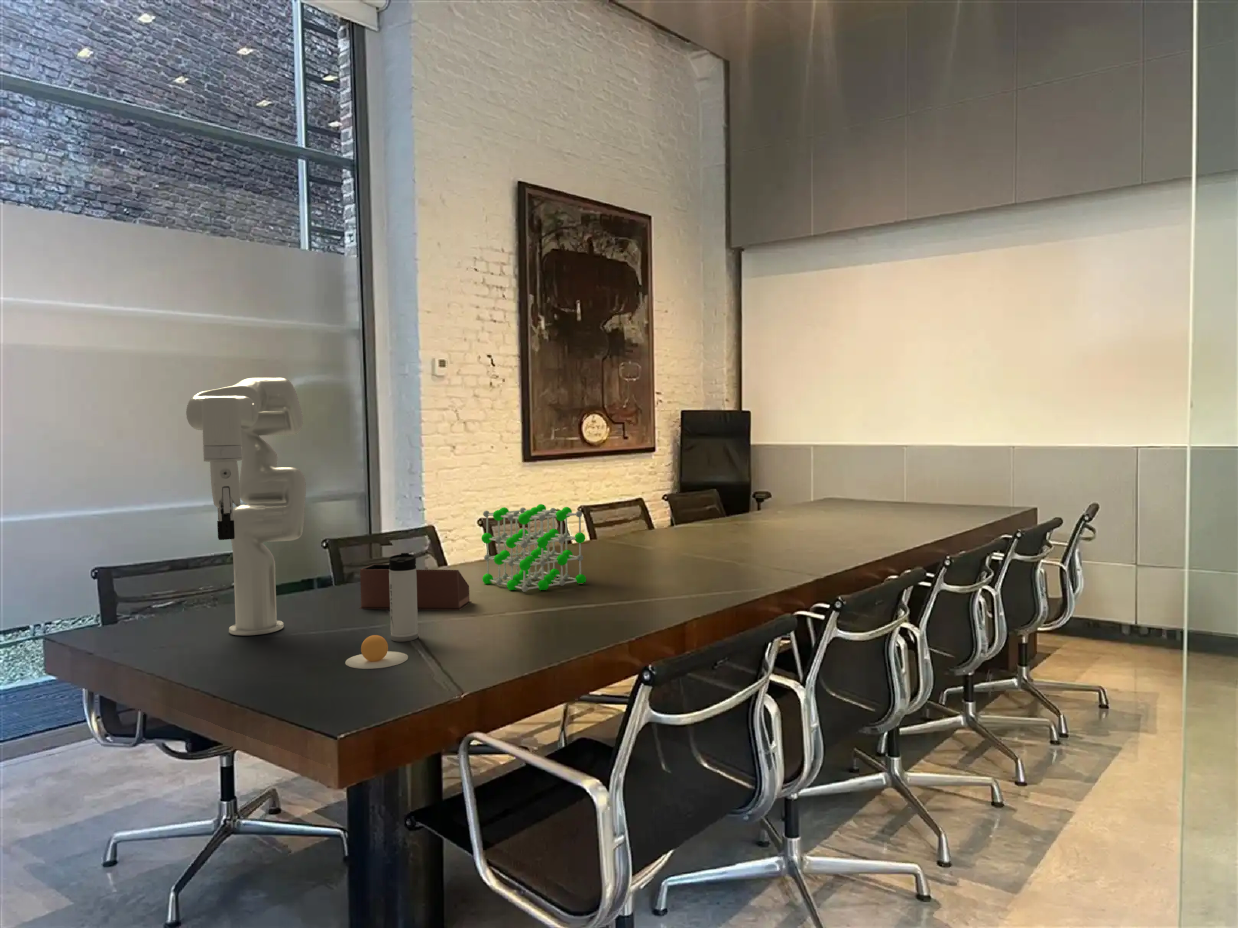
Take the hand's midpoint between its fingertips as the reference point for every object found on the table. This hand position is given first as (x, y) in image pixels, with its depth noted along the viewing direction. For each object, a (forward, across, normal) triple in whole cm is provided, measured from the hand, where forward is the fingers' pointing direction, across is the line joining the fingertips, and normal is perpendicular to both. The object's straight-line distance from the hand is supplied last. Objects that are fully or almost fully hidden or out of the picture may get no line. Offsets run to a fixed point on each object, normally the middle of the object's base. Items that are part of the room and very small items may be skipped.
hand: (226, 538), depth 185 cm
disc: (+26, -16, -28) cm, 42 cm away
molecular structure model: (+28, +47, -91) cm, 106 cm away
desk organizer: (+28, +36, -50) cm, 68 cm away
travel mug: (+27, 0, -38) cm, 46 cm away
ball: (+24, -17, -27) cm, 40 cm away
